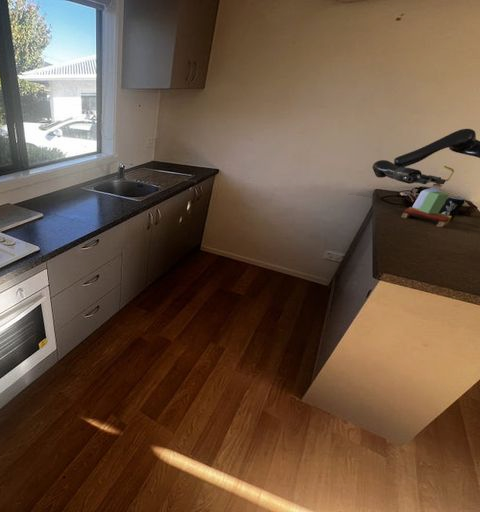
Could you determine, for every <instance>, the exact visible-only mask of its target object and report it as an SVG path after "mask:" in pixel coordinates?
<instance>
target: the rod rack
mask: <svg viewBox="0 0 480 512" xmlns="http://www.w3.org/2000/svg"><path fill="white" fill-rule="evenodd" d="M413 215H414V216H417V217H423V218H426V219H431V220H435V221H438V223H437V224H436V227H438V228H443V227H446V226H447V225H448V224H449V223H450V222H451V221H450V219H451V218H452V216H449V215H444V214H440V213H438V214H428V213H425V212H422V211H419V209H417V208H413V207H412V206H409V207H406V208H405V209H404V211H403V212H402V214H401V216H400V217H401V218H404V219H407V218H410V217H412V216H413Z"/></svg>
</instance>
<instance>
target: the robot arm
mask: <svg viewBox="0 0 480 512" xmlns="http://www.w3.org/2000/svg"><path fill="white" fill-rule="evenodd" d="M476 134H477V133H476V131H475V130H474V129H472V128H462V129H459V130H456V131H454V132H451V133H449V134H447V135H445V136H443V137H441V138H439V139H436V140H435V141H433V142H431V143H429V144H426V145H425V146H422V147H420V148H418V149H415V150H413V151H410V152H407V153H404V154H402V155H399V156H397V157H395V158H393V162H391V161H389V160H386V159H381V160H377V161H375V162H373V164H372V170H373V173H374V175H375V177H376V178H380V179H381V178H389V179H392V180H396V181H398V182H402V183H405V184H409V185H410V184H422V185H427V184H430V183H433V184H436V183H438V184H440V185H444V184H445V183H446V181H445V180H443V179H444V178H442V177H440V176H435V175H430V174H429V175H427V174H423V173H422V171H421V170H419V169H416V168H411V167H409V166H412V165H414V164H417V163H419V162H421V161H423V160H425V159H428V158H429V157H430V156H432V155H433V154H435V153H438V152H439V151H442V150H444V149H447V148H448V149H449V151H451V152H454V153H458V154H462V155H466V156H470V157H471V156H472V157H474V158H478V159H480V140H478V139H477V135H476Z"/></svg>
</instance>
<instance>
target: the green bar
mask: <svg viewBox="0 0 480 512" xmlns="http://www.w3.org/2000/svg"><path fill="white" fill-rule="evenodd" d="M442 192H443V191H442ZM442 192H429V193H428V195H427V197H426V198H425V200H424V202H423V204H422V206H421V207H420V209H419V211H422V212H425V213H428V214H438V213H439V211H440V209H441V208H442V206H443V204H444V203H445V201H446V199H447V198H448V197H449V196H450V194H449V193H445V192H443V193H442Z"/></svg>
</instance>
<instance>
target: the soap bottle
mask: <svg viewBox="0 0 480 512" xmlns="http://www.w3.org/2000/svg"><path fill="white" fill-rule="evenodd" d="M443 168H444V169H447V170H449V171H451V173H450V175H449V177H448V178H447V179H446V178H445V179H444V178H442V179H443V180H445V182H448V181H450V180H451V177H452V176H453V174H454V172H455V169H454V168H452V167H449V166H447V165H444V166H443ZM442 187H443V184H438V183H433V184H432V185H431V187H429V188H426V189H423V190H421V191H420V193H419V194H418V196H417V197H416V200H415V201H414V203H413V205H412V206H411V207H413V208H417V209H420V207H421V206H422V204H423V202H424V200H425V198H426V197H427V195H428V193H429V192H442V193H444V192H443V191H442V190H441V188H442Z"/></svg>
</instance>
